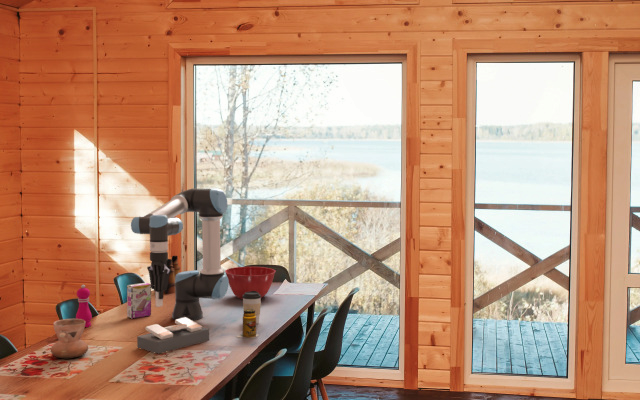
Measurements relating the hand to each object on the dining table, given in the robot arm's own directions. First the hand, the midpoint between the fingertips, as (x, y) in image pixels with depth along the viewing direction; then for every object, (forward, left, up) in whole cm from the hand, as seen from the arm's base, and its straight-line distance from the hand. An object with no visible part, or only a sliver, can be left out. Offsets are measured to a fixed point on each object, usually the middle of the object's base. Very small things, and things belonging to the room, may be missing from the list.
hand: (159, 306), depth 311 cm
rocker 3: (+3, +14, -11) cm, 18 cm away
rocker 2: (+3, +6, -11) cm, 13 cm away
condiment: (+18, +36, -17) cm, 43 cm away
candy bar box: (-50, +28, -17) cm, 60 cm away
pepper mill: (-54, -1, -17) cm, 57 cm away
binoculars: (-89, +81, -17) cm, 121 cm away
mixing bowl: (-40, +97, -17) cm, 106 cm away
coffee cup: (+2, +55, -17) cm, 57 cm away
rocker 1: (+3, -2, -11) cm, 12 cm away
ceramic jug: (-16, -32, -17) cm, 40 cm away
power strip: (+3, +7, -17) cm, 19 cm away
